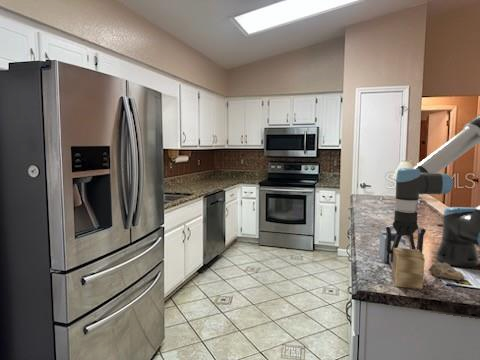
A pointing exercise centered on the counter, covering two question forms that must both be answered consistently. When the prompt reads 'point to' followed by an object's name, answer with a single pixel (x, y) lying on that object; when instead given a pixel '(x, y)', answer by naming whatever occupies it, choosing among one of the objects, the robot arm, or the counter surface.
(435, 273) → the rock
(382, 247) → the grey u-shaped block
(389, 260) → the light grey long block
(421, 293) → the counter surface
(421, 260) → the cardboard box
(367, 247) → the counter surface
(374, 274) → the counter surface
